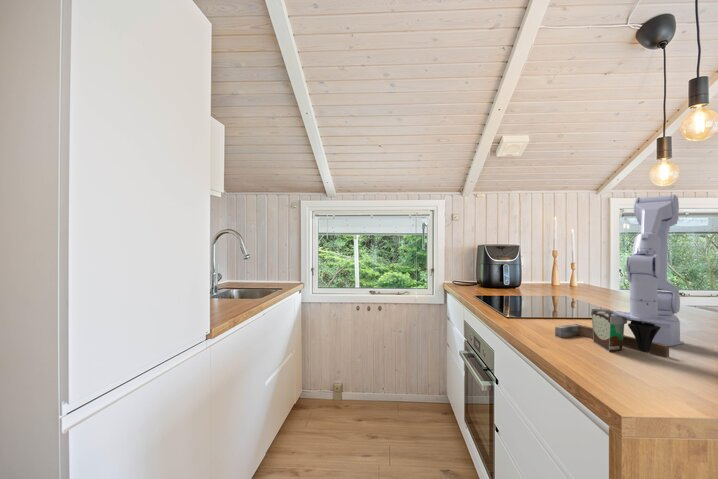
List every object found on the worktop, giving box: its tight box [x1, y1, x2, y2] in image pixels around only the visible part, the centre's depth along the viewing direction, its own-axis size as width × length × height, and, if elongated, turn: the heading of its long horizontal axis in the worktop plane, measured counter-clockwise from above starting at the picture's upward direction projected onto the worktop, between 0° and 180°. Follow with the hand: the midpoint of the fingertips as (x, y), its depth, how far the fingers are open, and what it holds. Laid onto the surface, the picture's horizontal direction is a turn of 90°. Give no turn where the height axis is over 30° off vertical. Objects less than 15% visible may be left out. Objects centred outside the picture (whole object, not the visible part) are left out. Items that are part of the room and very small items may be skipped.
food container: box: [590, 308, 628, 353], centre depth 99 cm, size 12×6×10 cm, turn 168°
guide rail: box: [554, 323, 670, 359], centre depth 101 cm, size 10×26×3 cm, turn 21°
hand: (644, 350), depth 92 cm, fingers closed
